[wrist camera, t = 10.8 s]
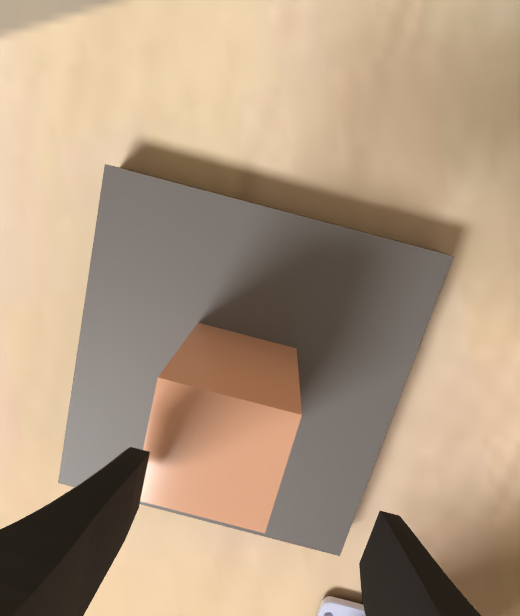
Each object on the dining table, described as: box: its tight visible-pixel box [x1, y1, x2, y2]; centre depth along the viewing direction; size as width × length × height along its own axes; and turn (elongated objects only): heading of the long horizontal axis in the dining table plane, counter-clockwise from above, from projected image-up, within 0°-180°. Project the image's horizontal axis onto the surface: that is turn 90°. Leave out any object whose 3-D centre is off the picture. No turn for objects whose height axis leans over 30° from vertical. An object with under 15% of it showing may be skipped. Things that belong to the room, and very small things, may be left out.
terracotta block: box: [140, 323, 302, 533], centre depth 16 cm, size 5×5×6 cm
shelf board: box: [58, 164, 454, 556], centre depth 20 cm, size 16×15×2 cm
